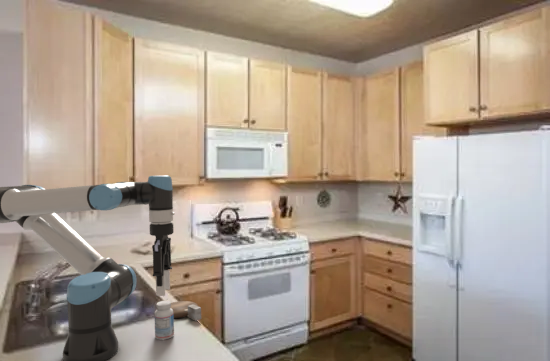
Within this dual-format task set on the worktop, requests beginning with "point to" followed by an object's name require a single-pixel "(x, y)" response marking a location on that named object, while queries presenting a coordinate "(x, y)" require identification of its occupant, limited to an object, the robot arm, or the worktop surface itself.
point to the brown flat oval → (186, 310)
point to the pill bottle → (164, 320)
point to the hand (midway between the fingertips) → (163, 292)
